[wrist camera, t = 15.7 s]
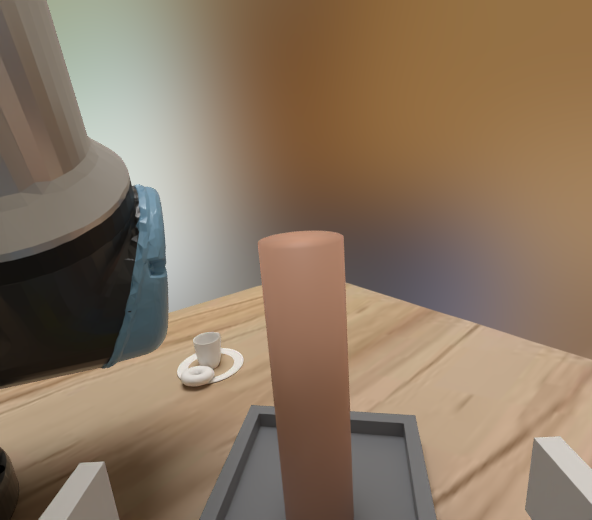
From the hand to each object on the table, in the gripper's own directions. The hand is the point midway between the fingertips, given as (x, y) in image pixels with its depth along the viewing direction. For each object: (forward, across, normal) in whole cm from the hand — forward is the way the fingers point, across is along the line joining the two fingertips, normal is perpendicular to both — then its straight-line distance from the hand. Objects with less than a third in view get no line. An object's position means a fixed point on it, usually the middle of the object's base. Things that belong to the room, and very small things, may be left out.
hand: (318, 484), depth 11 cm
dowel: (+9, 0, -12) cm, 15 cm away
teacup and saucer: (+29, -15, -14) cm, 35 cm away
